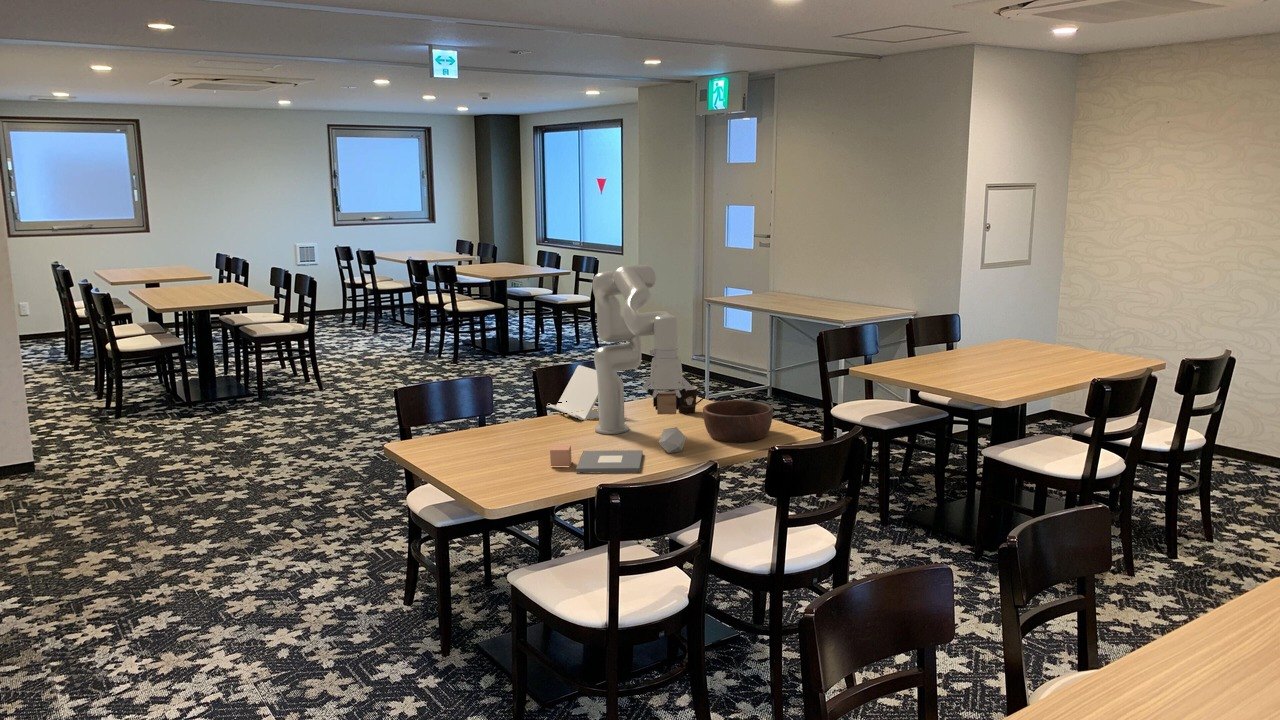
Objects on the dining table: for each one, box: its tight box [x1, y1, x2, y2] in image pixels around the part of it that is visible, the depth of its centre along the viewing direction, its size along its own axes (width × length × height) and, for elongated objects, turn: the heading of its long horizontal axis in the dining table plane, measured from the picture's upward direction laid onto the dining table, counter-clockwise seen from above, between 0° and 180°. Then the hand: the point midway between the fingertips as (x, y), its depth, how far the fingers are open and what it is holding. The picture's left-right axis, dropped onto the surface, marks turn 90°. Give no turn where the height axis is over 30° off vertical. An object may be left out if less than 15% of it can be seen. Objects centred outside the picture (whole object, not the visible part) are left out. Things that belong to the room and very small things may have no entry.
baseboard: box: [575, 449, 644, 474], centre depth 308 cm, size 20×20×2 cm
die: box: [658, 426, 687, 454], centre depth 320 cm, size 8×9×10 cm
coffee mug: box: [676, 384, 707, 415], centre depth 372 cm, size 12×9×10 cm
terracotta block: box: [549, 444, 573, 467], centre depth 307 cm, size 6×6×6 cm
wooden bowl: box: [702, 399, 774, 443], centre depth 337 cm, size 25×25×10 cm
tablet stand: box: [546, 364, 599, 421], centre depth 377 cm, size 18×25×17 cm
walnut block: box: [656, 391, 677, 415], centre depth 303 cm, size 6×6×6 cm
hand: (667, 408), depth 304 cm, fingers closed on walnut block, 6 cm apart
